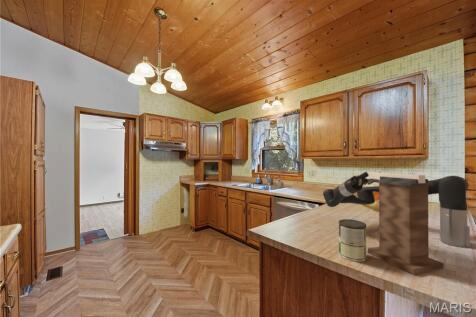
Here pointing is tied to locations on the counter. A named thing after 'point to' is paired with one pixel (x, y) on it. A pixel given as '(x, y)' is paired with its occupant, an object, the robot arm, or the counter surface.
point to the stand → (404, 225)
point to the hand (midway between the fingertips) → (374, 173)
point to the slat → (396, 176)
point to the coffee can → (352, 240)
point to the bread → (376, 204)
